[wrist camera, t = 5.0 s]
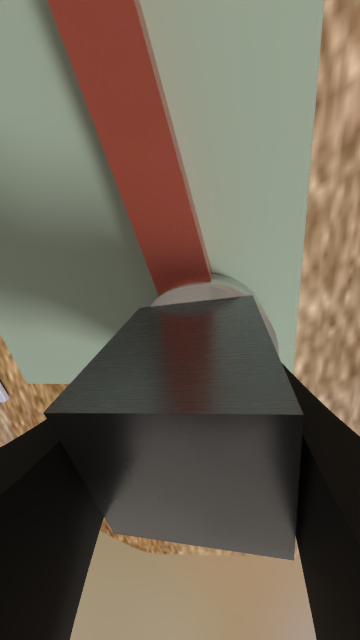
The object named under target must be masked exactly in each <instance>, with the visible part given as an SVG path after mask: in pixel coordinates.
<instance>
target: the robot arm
mask: <svg viewBox="0 0 360 640" xmlns="http://www.w3.org/2000/svg"><path fill="white" fill-rule="evenodd" d="M282 365H283V368H284V370H285V372H286V375H287V377H288V379H289V382H290V384H291V386H292V389H293V391H294V393H295V396H296V398H297V400H298V403H299V405H300V407H301V410H302V412H303V415H304V416H303V431H302V446H301V461H300V475H299V490H298V505H297V520H296V539H297V544H298V549H299V554H300V558H301V563H302V568H303V573H304V578H305V583H306V588H307V593H308V597H309V603H310V608H311V613H312V618H313V623H314V628H315V633H316V639H317V640H360V436H358V435H357V434H356V433H355V432H354V431H353V430H351V429H350V428H349V427H348V426H347V425H346V424H345V423H343V422H342V421H341V420H340V419H339V418H338V417H337V416H335V415H334V414H333V413H332V412H331V411H330V410H329V409H328V408H327V407H326V406H325V405H323V404H322V403H321V402H320V401H319V400H318V399H317V398H316V397H315V396H314V395H313V394H312V393H311V392H310V391H309V390H308V389H307V388H306V387H305V386H304V385H303V384H302V383H301V382H300V381H299V380H298V379H297V378H296V377H295V376H294V375H293V374H292V373H291V372H290V371H289V370H288V369H287V368H286V366H285V365H284V364H282ZM8 399H9V396H8V394H7V392H6V391H5V389H4V387H3V386H2V384H1V383H0V402H5V401H6V400H8ZM103 518H104V515H103V514H102V512H101V510H100V508H99V507H98V505H97V503H96V502H95V500H94V498H93V497H92V495H91V493H90V491H89V490H88V488H87V486H86V485H85V483H84V481H83V479H82V478H81V476H80V474H79V473H78V471H77V469H76V468H75V466H74V464H73V462H72V461H71V459H70V457H69V456H68V454H67V452H66V450H65V449H64V447H63V445H62V444H61V442H60V440H59V439H58V437H57V435H56V433H55V432H54V430H53V428H52V427H51V425H50V423H49V421H48V420H47V419H46V420H45V421H43V422H42V423H40V424H39V425H37V426H35V427H34V428H32V429H31V430H29V431H27V432H26V433H24V434H23V435H21V436H19V437H18V438H16V439H14V440H13V441H11V442H9V443H8V444H6V445H4V446H2V447H0V640H70V636H71V632H72V628H73V624H74V620H75V616H76V613H77V609H78V605H79V601H80V598H81V594H82V590H83V587H84V583H85V579H86V576H87V572H88V568H89V565H90V561H91V558H92V555H93V551H94V548H95V544H96V541H97V538H98V534H99V531H100V528H101V524H102V521H103Z"/></svg>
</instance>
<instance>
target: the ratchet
mask: <svg viewBox="0 0 360 640" xmlns="http://www.w3.org/2000/svg"><path fill="white" fill-rule="evenodd" d="M47 1H48V3H49V6H50V9H51V11H52V14H53V17H54V19H55V22H56V25H57V27H58V30H59V32H60V35H61V38H62V40H63V43H64V46H65V48H66V51H67V54H68V56H69V59H70V62H71V64H72V67H73V70H74V72H75V75H76V78H77V80H78V83H79V86H80V88H81V91H82V94H83V96H84V99H85V102H86V104H87V107H88V110H89V112H90V115H91V118H92V120H93V123H94V125H95V128H96V131H97V133H98V136H99V139H100V141H101V144H102V147H103V149H104V152H105V155H106V157H107V160H108V163H109V165H110V168H111V171H112V173H113V176H114V179H115V181H116V184H117V187H118V189H119V192H120V195H121V197H122V200H123V203H124V205H125V208H126V210H127V213H128V216H129V218H130V221H131V224H132V226H133V229H134V232H135V234H136V237H137V240H138V242H139V245H140V248H141V250H142V253H143V256H144V258H145V261H146V264H147V266H148V269H149V272H150V274H151V277H152V280H153V282H154V285H155V288H156V290H157V293H158V296H157V297H156V298H155V300H154V301H153V302H152V303H151V305H150V306H149V307H152V306H160V305H169V304H178V303H187V302H196V301H204V300H213V299H222V298H231V297H240V296H248V295H253V297H254V300H255V302H256V304H257V307H258V309H259V311H260V314H261V316H262V318H263V321H264V323H265V325H266V328H267V330H268V332H269V335H270V337H271V339H272V342H273V344H274V346H275V349H276V351H277V353H278V356H279V346H278V340H277V336H276V333H275V331H274V329H273V326H272V324H271V322H270V320H269V318H268V316H267V314H266V312H265V310H264V308H263V306H262V304H261V302H260V301H259V299H258V298H257V296H256V295H255V294H254V293H253V292H252V291H251V290H250V289H249V288H248V287H247V286H245V285H244V284H242V283H241V282H239V281H237V280H235V279H233V278H231V277H228V276H225V275H222V274H216V273H212V269H211V265H210V262H209V258H208V254H207V250H206V247H205V243H204V239H203V235H202V232H201V228H200V224H199V220H198V217H197V213H196V209H195V205H194V202H193V198H192V194H191V190H190V187H189V183H188V179H187V176H186V172H185V168H184V164H183V161H182V157H181V153H180V149H179V146H178V142H177V138H176V134H175V131H174V127H173V123H172V119H171V116H170V112H169V108H168V104H167V101H166V97H165V93H164V90H163V86H162V82H161V78H160V75H159V71H158V67H157V63H156V60H155V56H154V52H153V48H152V45H151V41H150V37H149V33H148V30H147V26H146V22H145V18H144V15H143V11H142V7H141V4H140V0H47Z"/></svg>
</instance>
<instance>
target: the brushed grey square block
mask: <svg viewBox="0 0 360 640" xmlns="http://www.w3.org/2000/svg"><path fill="white" fill-rule="evenodd" d="M44 415H45V416H46V418H47V420H48V421H49V423H50V425H51V427H52V428H53V430H54V432H55V433H56V435H57V437H58V439H59V440H60V442H61V444H62V445H63V447H64V449H65V450H66V452H67V454H68V456H69V457H70V459H71V461H72V462H73V464H74V466H75V468H76V469H77V471H78V473H79V474H80V476H81V478H82V479H83V481H84V483H85V485H86V486H87V488H88V490H89V491H90V493H91V495H92V497H93V498H94V500H95V502H96V503H97V505H98V507H99V508H100V510H101V512H102V514H103V515H104V517H105V519H106V520H107V522H108V524H109V526H110V527H111V529H112V531H113V532H114V533H115V534H122V535H128V536H135V537H142V538H148V539H155V540H162V541H168V542H175V543H182V544H188V545H195V546H202V547H208V548H215V549H222V550H228V551H235V552H242V553H248V554H255V555H262V556H268V557H275V558H282V559H289V560H294V550H295V535H296V520H297V505H298V490H299V475H300V461H301V446H302V431H303V416H304V415H303V412H302V410H301V407H300V405H299V403H298V400H297V398H296V396H295V393H294V391H293V389H292V386H291V384H290V382H289V379H288V377H287V375H286V372H285V370H284V368H283V365H282V363H281V361H280V358H279V356H278V353H277V351H276V349H275V346H274V344H273V342H272V339H271V337H270V335H269V332H268V330H267V328H266V325H265V323H264V321H263V318H262V316H261V314H260V311H259V309H258V307H257V304H256V302H255V300H254V297H253V295H248V296H240V297H231V298H222V299H213V300H204V301H196V302H187V303H178V304H169V305H160V306H152V307H143V308H139V309H138V310H137V311H136V312H135V313H134V314H133V315H132V317H131V318H130V319H129V320H128V321H127V322H126V323H125V324H124V325H123V326H122V327H121V329H120V330H119V331H118V332H117V333H116V334H115V335H114V336H113V337H112V338H111V339H110V341H109V342H108V343H107V344H106V345H105V346H104V347H103V348H102V349H101V350H100V351H99V353H98V354H97V355H96V356H95V357H94V358H93V359H92V360H91V361H90V362H89V363H88V365H87V366H86V367H85V368H84V369H83V370H82V371H81V372H80V373H79V374H78V375H77V377H76V378H75V379H74V380H73V381H72V382H71V383H70V384H69V385H68V386H67V388H66V389H65V390H64V391H63V392H62V393H61V394H60V395H59V396H58V397H57V398H56V400H55V401H54V402H53V403H52V404H51V405H50V406H49V407H48V408H47V409H46V410H45V412H44Z"/></svg>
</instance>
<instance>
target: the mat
mask: <svg viewBox="0 0 360 640" xmlns="http://www.w3.org/2000/svg"><path fill="white" fill-rule="evenodd" d="M140 4H141V7H142V11H143V15H144V18H145V22H146V26H147V30H148V33H149V37H150V41H151V45H152V48H153V52H154V56H155V60H156V63H157V67H158V71H159V75H160V78H161V82H162V86H163V90H164V93H165V97H166V101H167V104H168V108H169V112H170V116H171V119H172V123H173V127H174V131H175V134H176V138H177V142H178V146H179V149H180V153H181V157H182V161H183V164H184V168H185V172H186V176H187V179H188V183H189V187H190V190H191V194H192V198H193V202H194V205H195V209H196V213H197V217H198V220H199V224H200V228H201V232H202V235H203V239H204V243H205V247H206V250H207V254H208V258H209V262H210V265H211V269H212V273H216V274H222V275H225V276H228V277H231V278H233V279H235V280H237V281H239V282H241V283H242V284H244V285H245V286H247V287H248V288H249V289H250V290H251V291H252V292H253V293H254V294H255V295H256V296H257V298H258V299H259V301H260V302H261V304H262V306H263V308H264V310H265V312H266V314H267V316H268V318H269V320H270V322H271V324H272V326H273V329H274V331H275V333H276V336H277V340H278V346H279V358H280V361H281V363H282V364H284V365H285V366H286V368H287V369H288V370H289V371H290V372H291V373H292V374H293V366H294V354H295V342H296V330H297V318H298V306H299V294H300V282H301V271H302V259H303V247H304V235H305V223H306V211H307V199H308V187H309V175H310V163H311V151H312V139H313V128H314V116H315V104H316V92H317V80H318V68H319V56H320V44H321V32H322V20H323V8H324V0H140ZM157 296H158V293H157V290H156V288H155V285H154V282H153V280H152V277H151V274H150V272H149V269H148V266H147V264H146V261H145V258H144V256H143V253H142V250H141V248H140V245H139V242H138V240H137V237H136V234H135V232H134V229H133V226H132V224H131V221H130V218H129V216H128V213H127V210H126V208H125V205H124V203H123V200H122V197H121V195H120V192H119V189H118V187H117V184H116V181H115V179H114V176H113V173H112V171H111V168H110V165H109V163H108V160H107V157H106V155H105V152H104V149H103V147H102V144H101V141H100V139H99V136H98V133H97V131H96V128H95V125H94V123H93V120H92V118H91V115H90V112H89V110H88V107H87V104H86V102H85V99H84V96H83V94H82V91H81V88H80V86H79V83H78V80H77V78H76V75H75V72H74V70H73V67H72V64H71V62H70V59H69V56H68V54H67V51H66V48H65V46H64V43H63V40H62V38H61V35H60V32H59V30H58V27H57V25H56V22H55V19H54V17H53V14H52V11H51V9H50V6H49V3H48V1H47V0H0V334H1V336H2V338H3V340H4V342H5V344H6V345H7V347H8V349H9V351H10V353H11V355H12V356H13V358H14V360H15V362H16V364H17V366H18V367H19V369H20V371H21V373H22V375H23V377H24V378H25V380H26V382H27V383H51V384H70V383H71V382H72V381H73V380H74V379H75V378H76V377H77V375H78V374H79V373H80V372H81V371H82V370H83V369H84V368H85V367H86V366H87V365H88V363H89V362H90V361H91V360H92V359H93V358H94V357H95V356H96V355H97V354H98V353H99V351H100V350H101V349H102V348H103V347H104V346H105V345H106V344H107V343H108V342H109V341H110V339H111V338H112V337H113V336H114V335H115V334H116V333H117V332H118V331H119V330H120V329H121V327H122V326H123V325H124V324H125V323H126V322H127V321H128V320H129V319H130V318H131V317H132V315H133V314H134V313H135V312H136V311H137V310H138V309H139V308H143V307H149V306H150V305H151V303H152V302H153V301H154V300H155V298H156V297H157Z"/></svg>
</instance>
